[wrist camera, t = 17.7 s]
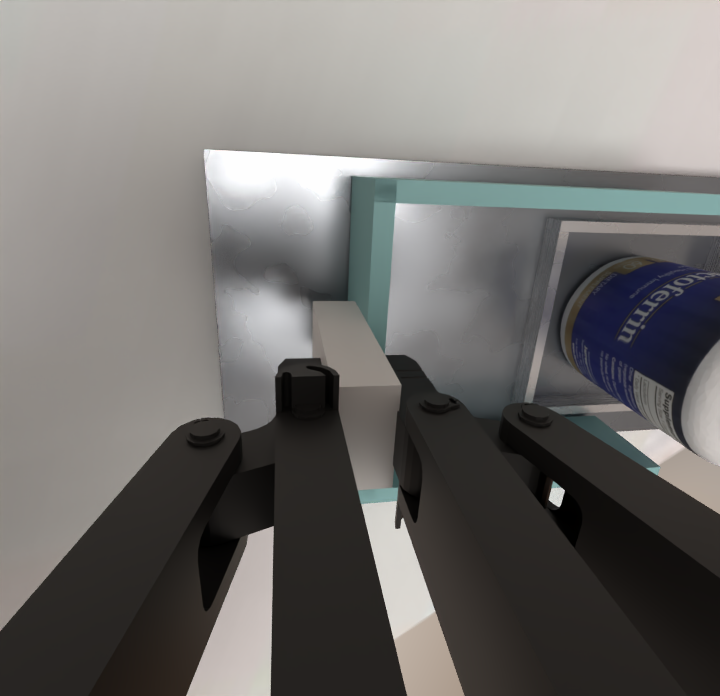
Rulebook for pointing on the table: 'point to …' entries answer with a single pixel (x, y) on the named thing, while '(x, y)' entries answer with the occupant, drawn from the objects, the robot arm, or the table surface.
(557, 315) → the plate
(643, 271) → the pill bottle
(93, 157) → the table surface
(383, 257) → the housing
